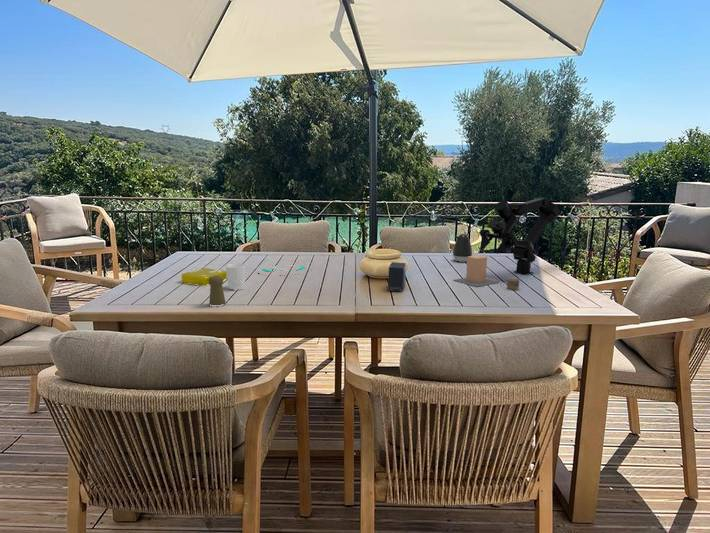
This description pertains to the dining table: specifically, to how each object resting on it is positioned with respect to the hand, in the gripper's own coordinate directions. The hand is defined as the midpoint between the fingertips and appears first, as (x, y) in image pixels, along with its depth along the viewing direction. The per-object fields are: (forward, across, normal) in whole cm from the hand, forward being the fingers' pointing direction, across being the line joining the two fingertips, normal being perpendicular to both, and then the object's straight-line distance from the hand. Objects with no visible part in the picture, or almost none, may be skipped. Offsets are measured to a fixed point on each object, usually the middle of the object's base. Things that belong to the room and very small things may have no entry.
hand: (488, 251), depth 210 cm
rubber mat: (+14, 0, +4) cm, 15 cm away
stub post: (+12, +17, +7) cm, 22 cm away
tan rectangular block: (+14, 0, +4) cm, 15 cm away
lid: (+58, -70, -39) cm, 99 cm away
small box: (+41, -10, -22) cm, 47 cm away
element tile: (+86, -68, -68) cm, 129 cm away
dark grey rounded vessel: (-5, -36, +24) cm, 44 cm away
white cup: (+81, -47, -62) cm, 112 cm away
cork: (+90, -28, -72) cm, 119 cm away
